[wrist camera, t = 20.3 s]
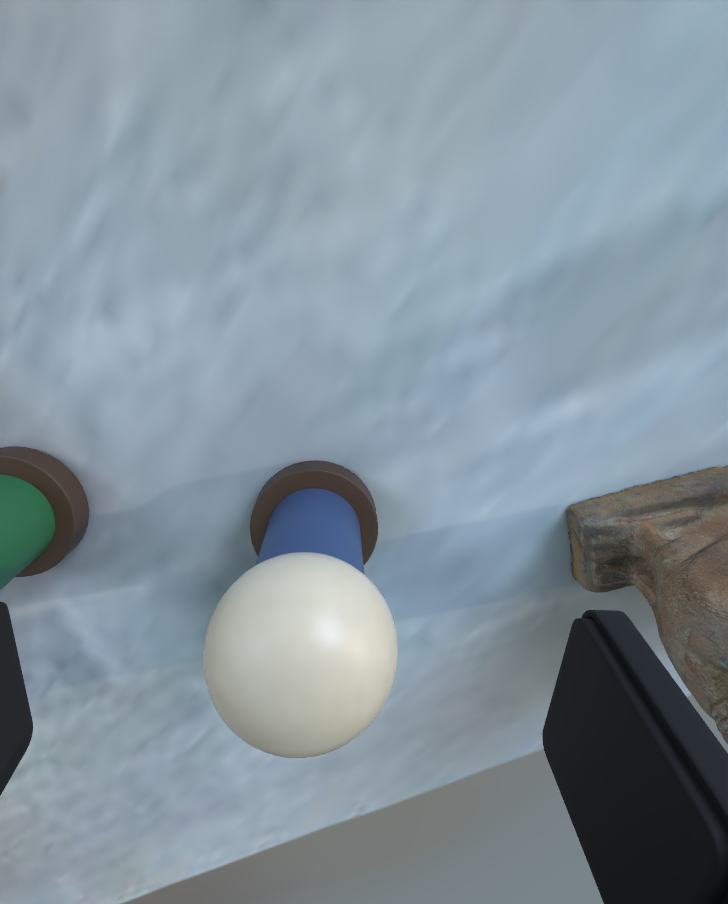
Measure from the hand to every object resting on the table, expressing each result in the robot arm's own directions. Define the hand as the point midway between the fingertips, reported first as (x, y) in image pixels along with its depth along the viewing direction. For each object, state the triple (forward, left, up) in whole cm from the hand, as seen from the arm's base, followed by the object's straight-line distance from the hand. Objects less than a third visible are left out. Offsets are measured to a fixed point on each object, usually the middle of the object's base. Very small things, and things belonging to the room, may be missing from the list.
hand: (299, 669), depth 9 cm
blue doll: (+2, 0, -9) cm, 10 cm away
